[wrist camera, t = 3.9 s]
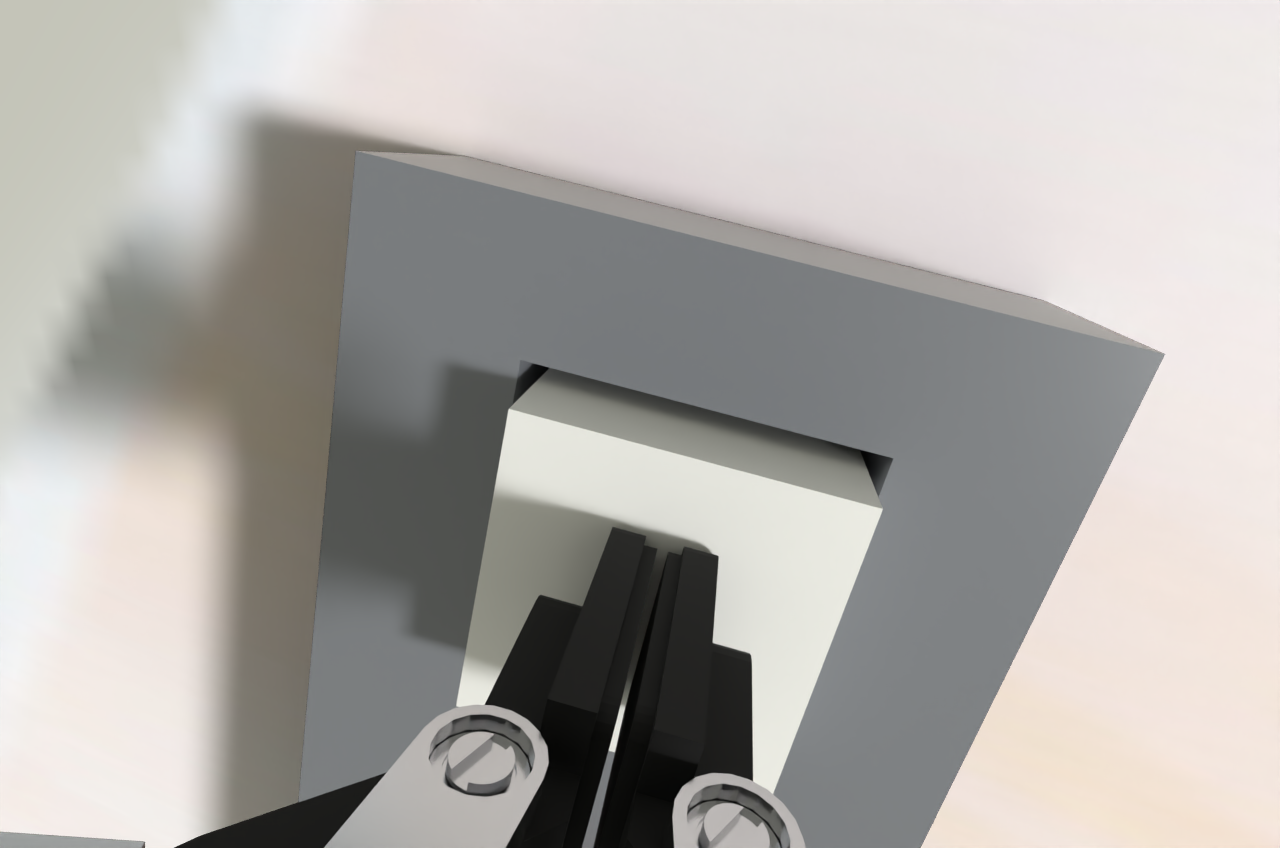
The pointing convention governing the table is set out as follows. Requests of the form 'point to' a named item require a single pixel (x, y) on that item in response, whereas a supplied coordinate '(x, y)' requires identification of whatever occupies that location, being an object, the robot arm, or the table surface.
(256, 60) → the table surface
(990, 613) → the key panel
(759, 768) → the white square block
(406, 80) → the table surface
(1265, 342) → the table surface
